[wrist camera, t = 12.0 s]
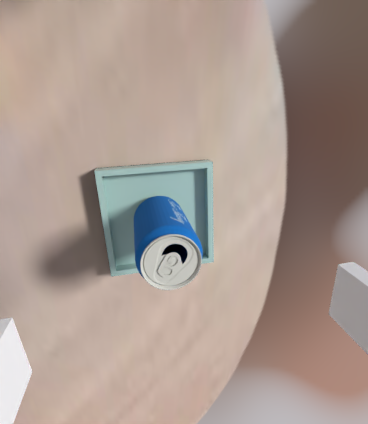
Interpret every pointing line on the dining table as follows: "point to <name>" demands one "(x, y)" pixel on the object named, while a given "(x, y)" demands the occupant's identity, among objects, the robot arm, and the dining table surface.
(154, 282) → the beverage can
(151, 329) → the dining table surface
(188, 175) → the tray
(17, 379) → the robot arm
